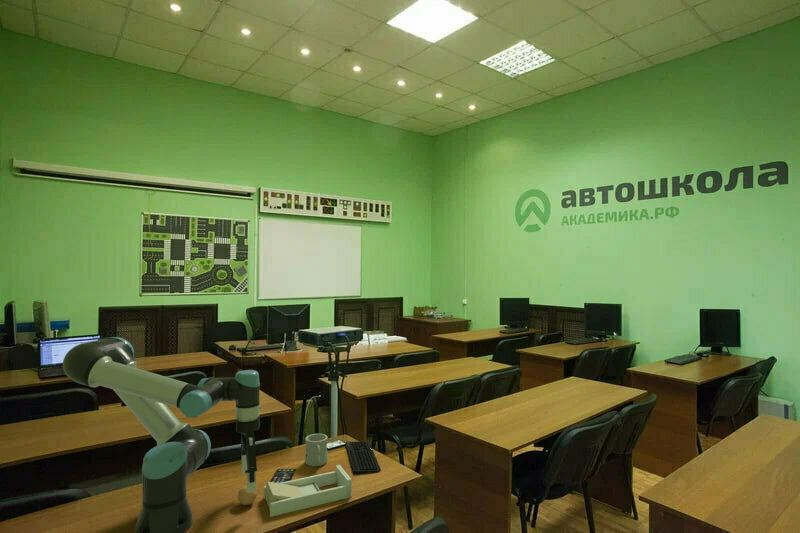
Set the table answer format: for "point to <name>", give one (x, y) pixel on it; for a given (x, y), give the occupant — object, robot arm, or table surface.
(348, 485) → the lane
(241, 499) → the ball
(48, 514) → the table surface
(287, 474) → the smartphone
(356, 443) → the keyboard
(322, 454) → the mug
